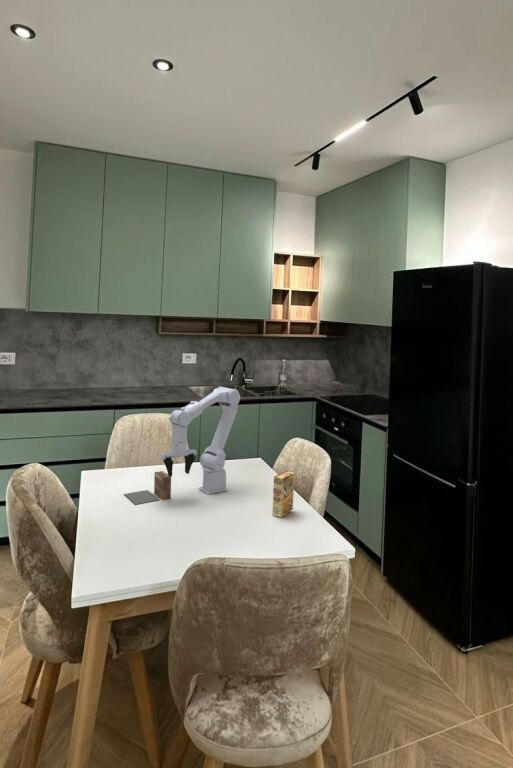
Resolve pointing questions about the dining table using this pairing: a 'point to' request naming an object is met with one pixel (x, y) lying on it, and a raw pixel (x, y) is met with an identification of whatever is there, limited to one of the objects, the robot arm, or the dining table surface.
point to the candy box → (283, 493)
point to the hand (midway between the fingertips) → (178, 474)
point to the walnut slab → (162, 485)
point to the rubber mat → (141, 497)
